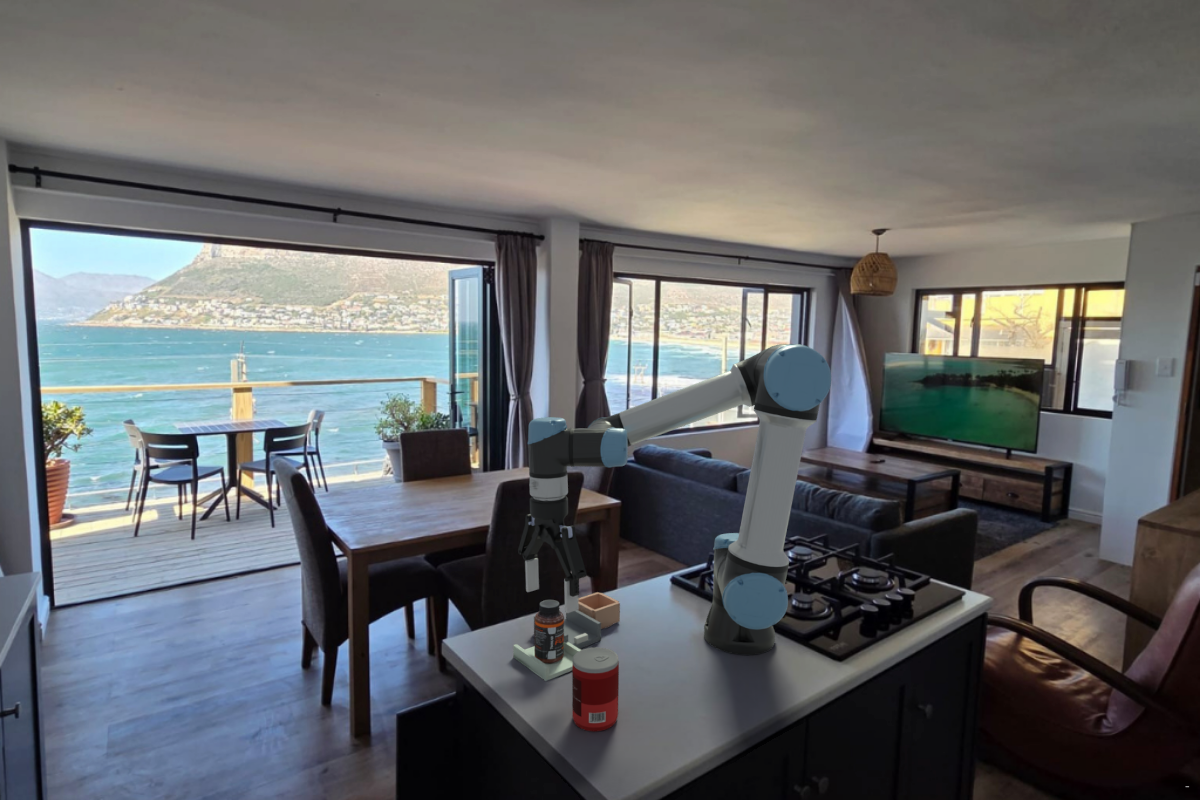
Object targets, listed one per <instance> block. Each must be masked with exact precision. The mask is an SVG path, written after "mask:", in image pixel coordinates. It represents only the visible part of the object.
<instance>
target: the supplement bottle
mask: <svg viewBox="0 0 1200 800" xmlns="http://www.w3.org/2000/svg"><path fill="white" fill-rule="evenodd" d="M538 609H539V611H538V612H537V613H535V615H534V616H535V634H534V647H535V650H534V651H535V657H536V658H537V659H539V660H540V661H542V662H543V663H555V662H558V661H559V660H561V659H562V658H563V655H564V619H565V616H564V613H563V612H562V611H561V610H560V602H559V601H558V600H554V599H545V600H543V601H540V602H539V608H538Z"/></svg>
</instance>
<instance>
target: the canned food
mask: <svg viewBox="0 0 1200 800" xmlns="http://www.w3.org/2000/svg"><path fill="white" fill-rule="evenodd" d="M580 650H581V651H579V652H577V653H576V654H575V655H574V657H573V666H572V678H571V679H572V681H571V682H572V683H571V684H572V693H571V694H572V695H571V697H572V702H571V703H572V704H571V705H572V708H571V709H572V719H573V722H574V724H575V725H576V727H579V728H580V729H581V730H583V729H584V731H587V732H601V731H605V730H608V729H610V728H612V727H613V726H614V725H615V724H616V722H617V719H618V717H619V685H620V684H619V681H620V680H619V675H620V674H619V673H620V667H619V666H620V665H619V663H620V660H619V655H618V654H617V653H616V652H615V651H614V650H611V649H609V648H606V647H605V648H604V647H588V648H583V649H580Z"/></svg>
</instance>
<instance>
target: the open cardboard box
mask: <svg viewBox="0 0 1200 800" xmlns="http://www.w3.org/2000/svg"><path fill="white" fill-rule="evenodd" d="M578 607H579V609H578V611H580V612H582V613H584V614H586V615H588V616H589V617H591V618H593V619H595V620H597V621H599V622H600V623H601V630H603V629H607V628H609V627H611V626H613V625H614V624H617V623H619V622H620V621H621V617H620V615H621V614H620V613H621V603H620V601H619V600H616V599H615V598H613V597H611V596H608V595H607V594H605V593H603V592H598V591H597V592H593V593H590V594H589V595H585V596H582V597H578Z"/></svg>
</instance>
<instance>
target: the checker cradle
mask: <svg viewBox="0 0 1200 800" xmlns="http://www.w3.org/2000/svg"><path fill="white" fill-rule="evenodd" d="M533 634H534V635H535V615H534V616H533ZM601 635H602V629H601V623H600V622H599V621H597V620H595V619H593V618H591V617H589V616H588V615H586V614H584V613H582V612H580V611H578V610H575V611H573V612H570V613H566V612H565V618H564V642H567V641H568V642H569V643H571V644H572V645H574V646H576V647H577V648H579V649H580V650H581V649H582V648H583V649H584V648H585V647H588V646H590V645H593V644H596V643H598V642H600V641H602V636H601Z"/></svg>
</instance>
